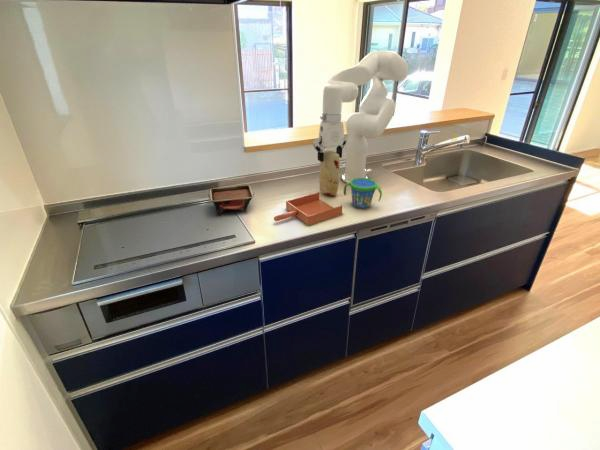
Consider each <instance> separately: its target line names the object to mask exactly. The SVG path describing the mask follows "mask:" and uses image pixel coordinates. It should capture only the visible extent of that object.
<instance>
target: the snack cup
mask: <svg viewBox="0 0 600 450" xmlns="http://www.w3.org/2000/svg"><path fill="white" fill-rule="evenodd" d="M348 185H349V186H350V191H351V204H352V206H353V207H354V208H358V209H367V208H369V207H371V205H372V201H373V198H374V194H375V192H376V190H377V191H378V193H379V199H378V202H380V201H381V199H382V195H383V191H382V189H381V187H380V185H378V184H377V182H376V181H375V180H374V179H371V178H368V179H367V178H357V179H353V180H352V181H350V182H348V183H346V184H345V185H344V187H343V195H344V196H346V195H347V186H348Z"/></svg>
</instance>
